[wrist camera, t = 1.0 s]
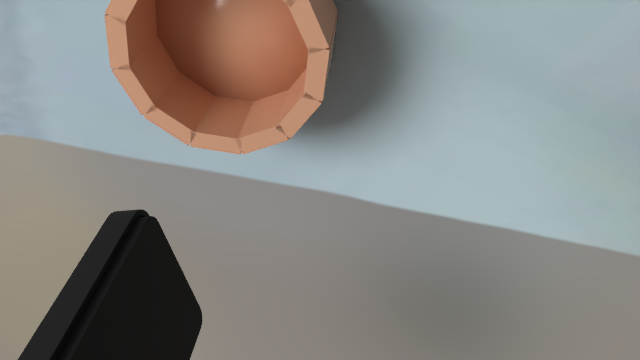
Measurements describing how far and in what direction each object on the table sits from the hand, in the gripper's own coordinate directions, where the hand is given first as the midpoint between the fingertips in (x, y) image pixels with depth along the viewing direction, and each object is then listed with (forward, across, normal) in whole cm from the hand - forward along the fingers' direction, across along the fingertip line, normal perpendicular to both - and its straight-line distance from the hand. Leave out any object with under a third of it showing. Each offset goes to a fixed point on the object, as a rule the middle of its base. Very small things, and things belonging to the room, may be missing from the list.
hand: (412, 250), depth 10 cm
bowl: (+23, +10, +4) cm, 25 cm away
